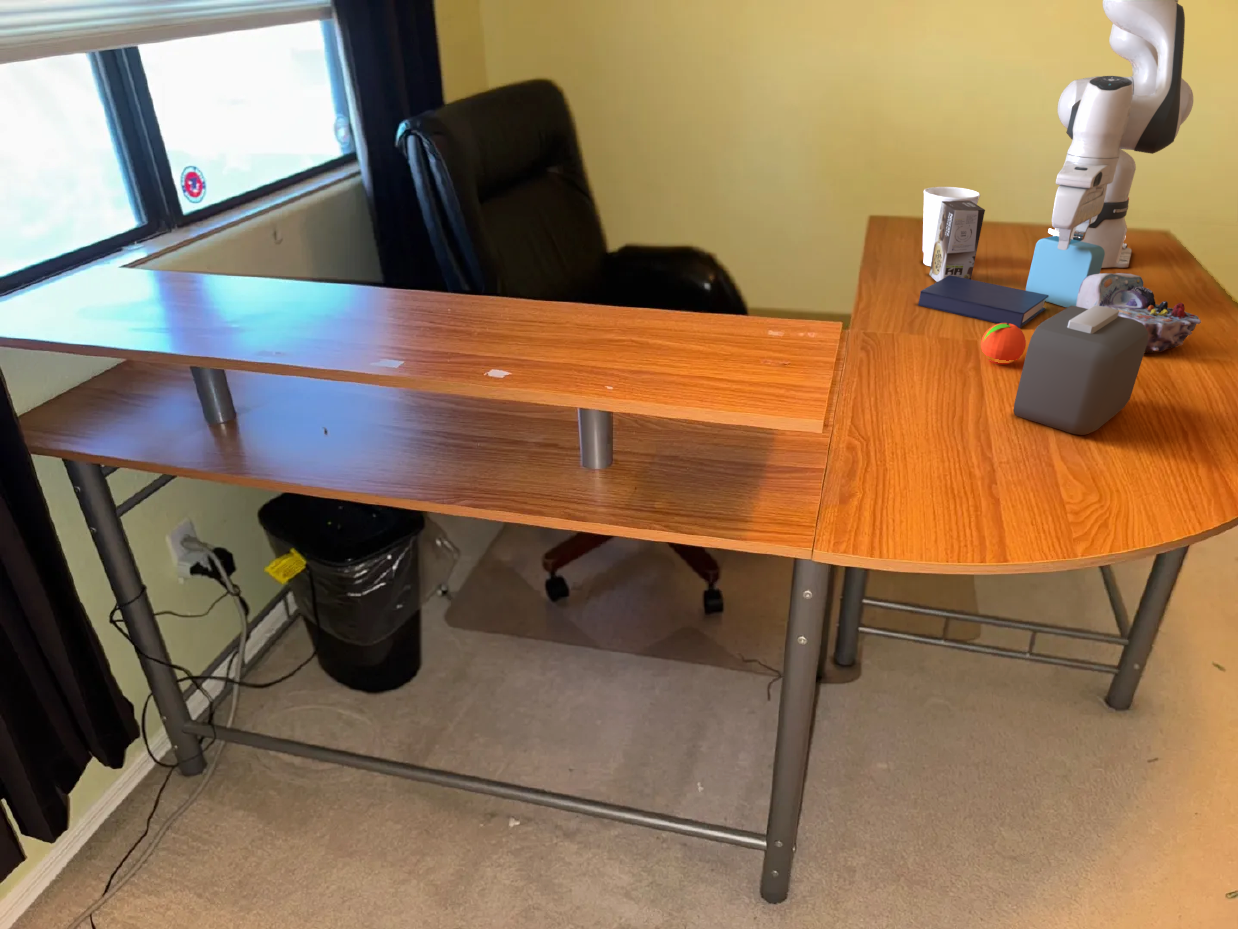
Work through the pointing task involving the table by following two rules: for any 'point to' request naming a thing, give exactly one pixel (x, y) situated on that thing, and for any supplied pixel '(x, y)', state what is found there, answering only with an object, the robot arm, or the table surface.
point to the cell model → (1138, 308)
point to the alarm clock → (1080, 369)
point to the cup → (932, 212)
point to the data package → (1062, 269)
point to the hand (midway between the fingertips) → (1070, 244)
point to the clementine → (1003, 342)
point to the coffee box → (956, 239)
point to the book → (983, 300)
